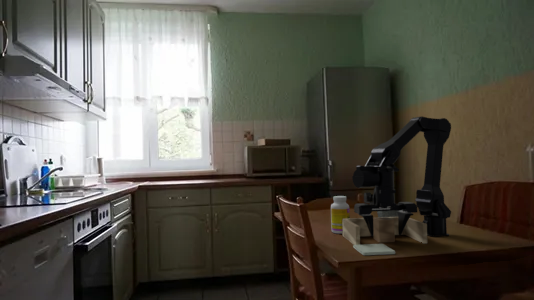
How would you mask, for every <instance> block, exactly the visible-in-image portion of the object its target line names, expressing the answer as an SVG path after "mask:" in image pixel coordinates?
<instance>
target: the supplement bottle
mask: <svg viewBox="0 0 534 300" xmlns="http://www.w3.org/2000/svg"><path fill="white" fill-rule="evenodd" d="M332 198H333V203H331V204H330V222H331V223H330V226H331V227H330V229H331V230H330V231H331V232H332V233H333V234H338V235H341V234H342V235H343V225H342V219H350V218H351V215H350V205H349V204H348V203H347V196H346V195H345V196H344V195H337V196H336V195H335V196H333V197H332Z"/></svg>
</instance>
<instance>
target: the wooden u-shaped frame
mask: <svg viewBox="0 0 534 300" xmlns="http://www.w3.org/2000/svg"><path fill="white" fill-rule="evenodd" d="M376 218H381V217H378V216H377V217H376ZM388 218H391V219H394V230H395V236H401V235H405V236H407V237H409V238H411V239H413V240H415V241H418V242H419V243H421V242H422V244H428V235H427V224H426V223H423V221H420V220H417V219H414V218H412V217H410V218H409V220H408V221H407V223H406V225H405V228H404V230H403V232H402V234H401V235H399V232H398V217H388ZM342 225H343V234H342V237H344V239H346V240H347V241H349V242H350V243H351V244H352V245H361V237H374V233H373V236H371V235H370V232H369V229H368V227H367V224H366V222H365V220H364V218H363V217H357V218H356V217H354V218H352V217H350V219H342Z"/></svg>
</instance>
